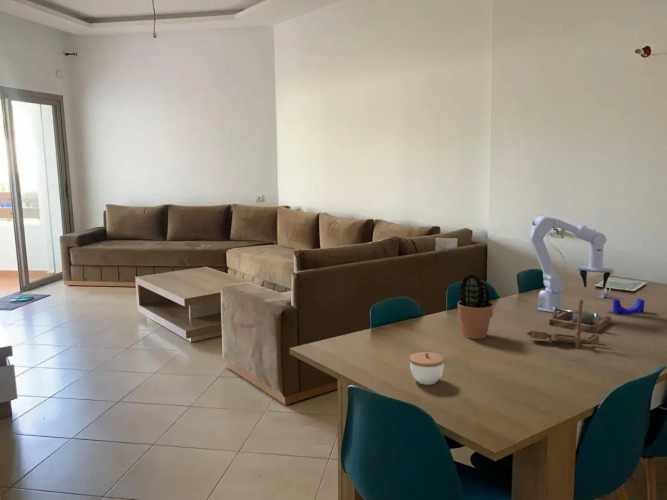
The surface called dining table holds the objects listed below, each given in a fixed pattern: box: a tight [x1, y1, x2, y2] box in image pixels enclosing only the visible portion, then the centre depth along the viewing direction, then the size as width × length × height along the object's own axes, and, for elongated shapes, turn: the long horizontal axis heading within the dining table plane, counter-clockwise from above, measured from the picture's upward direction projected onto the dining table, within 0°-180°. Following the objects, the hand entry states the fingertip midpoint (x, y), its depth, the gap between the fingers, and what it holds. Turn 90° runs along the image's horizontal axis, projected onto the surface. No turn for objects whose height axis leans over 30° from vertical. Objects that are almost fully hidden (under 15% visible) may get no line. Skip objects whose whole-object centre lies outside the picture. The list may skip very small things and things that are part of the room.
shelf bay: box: [548, 311, 612, 334], centre depth 232 cm, size 18×20×2 cm
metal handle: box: [552, 307, 600, 325], centre depth 227 cm, size 18×2×7 cm, turn 47°
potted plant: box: [457, 273, 494, 340], centre depth 218 cm, size 14×14×25 cm
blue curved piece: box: [612, 298, 645, 315], centre depth 247 cm, size 12×4×6 cm, turn 85°
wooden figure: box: [526, 299, 600, 349], centre depth 209 cm, size 14×18×25 cm
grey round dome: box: [571, 311, 594, 325], centre depth 235 cm, size 8×8×4 cm
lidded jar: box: [409, 351, 445, 386], centre depth 174 cm, size 11×11×9 cm
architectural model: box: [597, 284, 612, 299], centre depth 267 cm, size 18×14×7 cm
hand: (594, 287), depth 252 cm, fingers open, 7 cm apart
